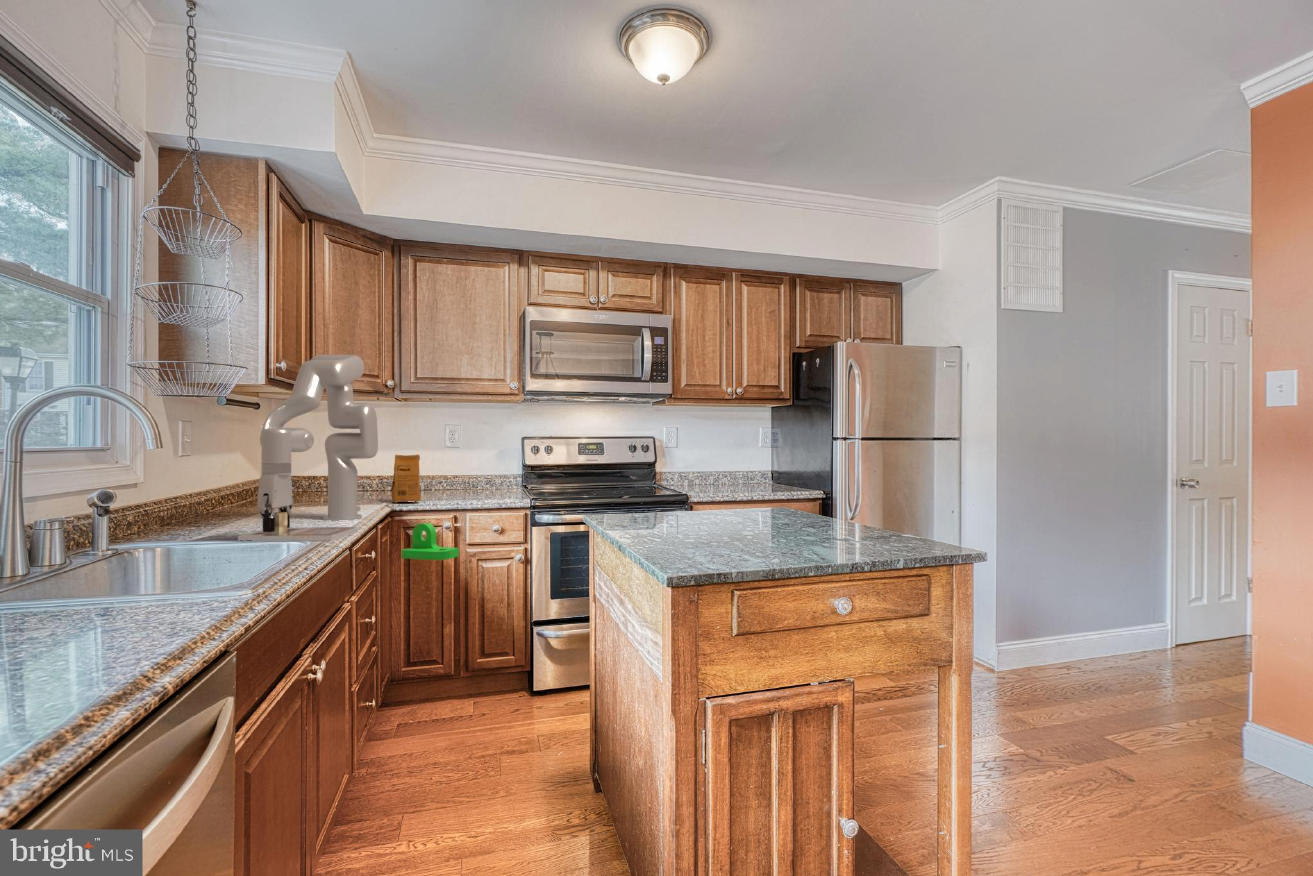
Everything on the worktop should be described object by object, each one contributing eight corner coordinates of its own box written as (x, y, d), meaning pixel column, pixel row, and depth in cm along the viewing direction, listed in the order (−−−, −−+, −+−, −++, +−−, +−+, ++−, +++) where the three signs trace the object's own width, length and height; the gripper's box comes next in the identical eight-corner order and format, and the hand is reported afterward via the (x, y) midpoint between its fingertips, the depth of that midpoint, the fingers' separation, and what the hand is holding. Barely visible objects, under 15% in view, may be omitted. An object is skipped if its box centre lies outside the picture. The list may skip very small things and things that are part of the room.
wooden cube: (273, 535, 179) (273, 512, 179) (287, 535, 179) (287, 512, 179) (265, 537, 175) (265, 514, 175) (279, 537, 175) (279, 514, 175)
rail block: (272, 532, 185) (272, 527, 185) (357, 532, 186) (357, 526, 186) (237, 541, 169) (237, 535, 169) (331, 540, 170) (331, 534, 170)
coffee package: (391, 501, 277) (391, 454, 277) (420, 500, 282) (420, 454, 282) (390, 503, 268) (390, 454, 268) (420, 502, 272) (420, 454, 272)
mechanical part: (401, 558, 146) (401, 525, 146) (417, 553, 152) (417, 522, 152) (443, 560, 143) (443, 527, 143) (458, 556, 149) (458, 524, 149)
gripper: (281, 468, 186) (281, 525, 186) (244, 471, 169) (244, 534, 168) (305, 468, 186) (305, 525, 186) (271, 471, 169) (271, 534, 169)
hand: (276, 529), depth 177 cm, fingers open, 6 cm apart
